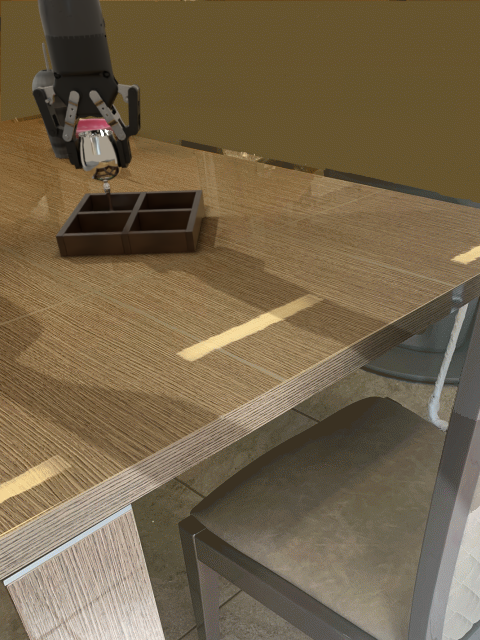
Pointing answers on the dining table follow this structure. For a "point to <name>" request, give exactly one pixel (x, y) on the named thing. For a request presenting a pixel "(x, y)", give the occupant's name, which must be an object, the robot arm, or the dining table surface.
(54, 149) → the beverage cup
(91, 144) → the wineglass
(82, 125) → the pink round shallow bowl
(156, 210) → the tray
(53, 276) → the dining table surface
